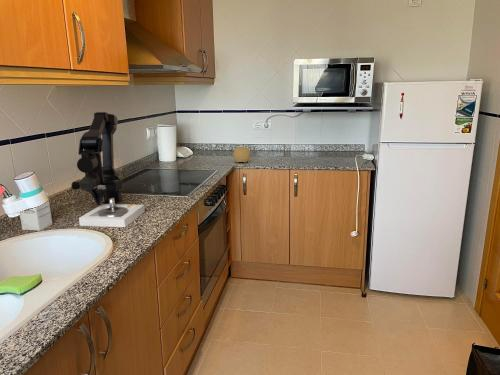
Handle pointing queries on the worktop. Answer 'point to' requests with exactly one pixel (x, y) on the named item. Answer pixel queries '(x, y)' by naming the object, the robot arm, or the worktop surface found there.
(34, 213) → the supplement box
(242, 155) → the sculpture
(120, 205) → the bezel
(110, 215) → the dial
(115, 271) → the worktop surface
